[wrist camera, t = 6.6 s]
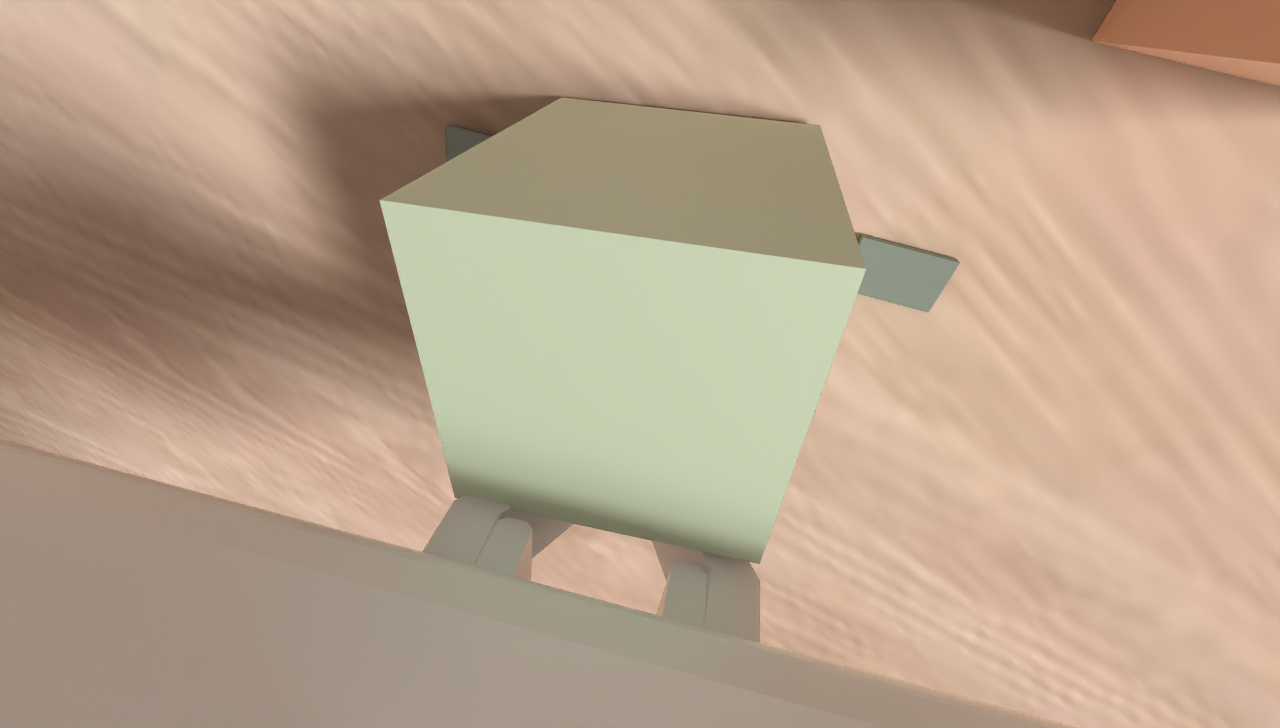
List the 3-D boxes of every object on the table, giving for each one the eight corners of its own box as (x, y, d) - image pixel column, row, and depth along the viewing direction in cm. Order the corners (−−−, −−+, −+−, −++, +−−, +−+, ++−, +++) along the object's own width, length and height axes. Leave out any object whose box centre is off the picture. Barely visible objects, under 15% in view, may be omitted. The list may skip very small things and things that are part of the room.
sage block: (568, 312, 13) (455, 498, 8) (561, 97, 10) (379, 200, 5) (764, 344, 13) (759, 563, 8) (820, 125, 10) (865, 269, 5)
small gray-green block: (451, 180, 12) (447, 182, 12) (450, 124, 11) (446, 127, 11) (535, 202, 12) (532, 206, 11) (539, 148, 11) (536, 150, 11)
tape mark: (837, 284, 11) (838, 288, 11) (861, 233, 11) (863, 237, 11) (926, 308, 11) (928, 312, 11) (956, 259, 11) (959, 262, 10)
